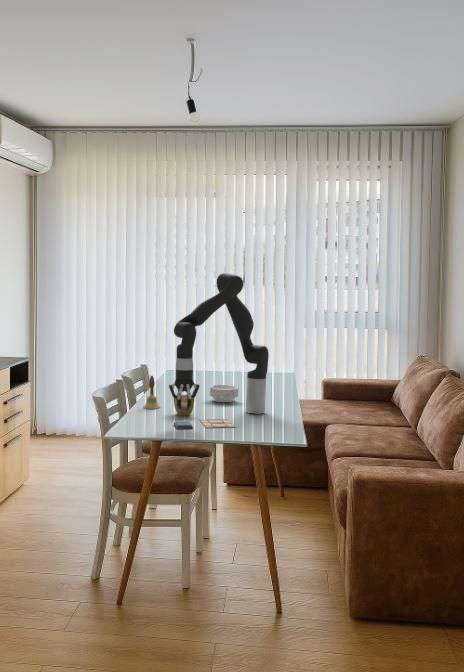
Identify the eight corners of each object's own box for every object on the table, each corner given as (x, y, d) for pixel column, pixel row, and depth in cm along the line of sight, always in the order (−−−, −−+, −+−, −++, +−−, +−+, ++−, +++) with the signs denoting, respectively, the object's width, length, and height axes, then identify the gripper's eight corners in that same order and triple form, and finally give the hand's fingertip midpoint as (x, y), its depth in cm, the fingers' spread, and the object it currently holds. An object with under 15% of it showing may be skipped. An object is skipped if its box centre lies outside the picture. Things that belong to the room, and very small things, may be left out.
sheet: (199, 420, 296) (199, 419, 296) (227, 419, 299) (227, 418, 299) (206, 428, 280) (206, 427, 280) (235, 427, 283) (235, 426, 283)
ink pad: (173, 424, 286) (173, 421, 285) (189, 424, 287) (189, 420, 287) (176, 429, 277) (176, 425, 277) (192, 428, 278) (192, 425, 278)
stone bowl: (238, 404, 338) (238, 389, 337) (208, 403, 338) (209, 388, 337) (238, 399, 353) (238, 384, 352) (210, 398, 353) (210, 384, 352)
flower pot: (175, 417, 302) (176, 397, 301) (172, 413, 310) (173, 394, 309) (194, 416, 304) (194, 397, 303) (190, 412, 313) (191, 394, 312)
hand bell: (149, 409, 317) (149, 377, 316) (140, 407, 323) (140, 375, 322) (163, 408, 322) (164, 376, 321) (154, 405, 328) (154, 374, 327)
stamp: (177, 410, 284) (177, 394, 283) (188, 409, 285) (188, 394, 284) (179, 412, 279) (179, 396, 278) (190, 412, 280) (190, 396, 279)
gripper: (199, 366, 285) (198, 405, 287) (167, 367, 282) (166, 406, 284) (202, 369, 278) (201, 408, 280) (169, 369, 275) (168, 409, 276)
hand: (183, 407), depth 282 cm, fingers closed on stamp, 3 cm apart
